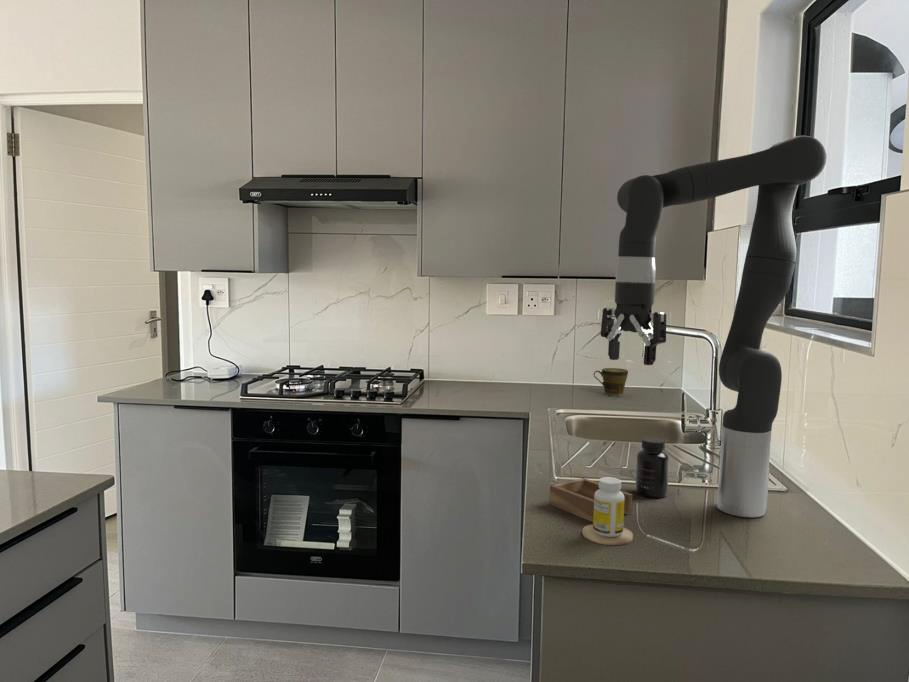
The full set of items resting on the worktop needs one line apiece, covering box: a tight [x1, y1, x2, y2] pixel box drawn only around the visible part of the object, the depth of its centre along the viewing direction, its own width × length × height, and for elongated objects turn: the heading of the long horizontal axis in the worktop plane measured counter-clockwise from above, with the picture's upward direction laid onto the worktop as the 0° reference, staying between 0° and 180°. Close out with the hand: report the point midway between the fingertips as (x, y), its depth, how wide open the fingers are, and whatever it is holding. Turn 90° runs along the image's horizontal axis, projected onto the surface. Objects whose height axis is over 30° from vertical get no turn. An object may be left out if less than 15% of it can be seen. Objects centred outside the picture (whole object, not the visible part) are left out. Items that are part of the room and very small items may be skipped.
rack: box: [548, 477, 633, 523], centre depth 143 cm, size 10×13×4 cm
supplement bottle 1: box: [592, 476, 625, 537], centre depth 129 cm, size 5×5×10 cm
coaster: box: [582, 523, 634, 546], centre depth 129 cm, size 9×9×1 cm
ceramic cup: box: [593, 367, 629, 397], centre depth 273 cm, size 13×10×10 cm
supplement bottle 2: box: [634, 437, 670, 499], centre depth 154 cm, size 7×7×12 cm
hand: (630, 362), depth 141 cm, fingers open, 8 cm apart
